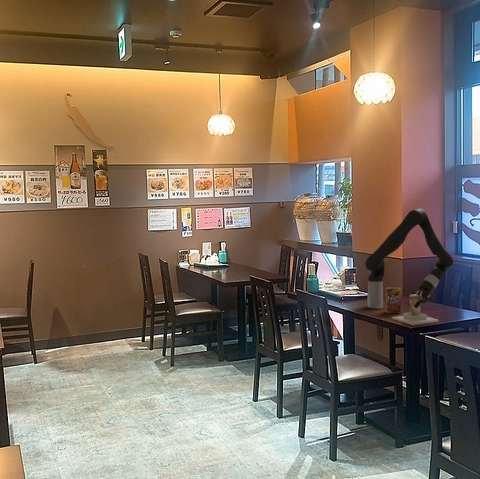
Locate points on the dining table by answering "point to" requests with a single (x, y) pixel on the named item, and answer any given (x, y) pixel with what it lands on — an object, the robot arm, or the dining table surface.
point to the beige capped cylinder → (413, 301)
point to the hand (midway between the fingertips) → (412, 306)
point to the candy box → (393, 300)
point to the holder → (415, 319)
